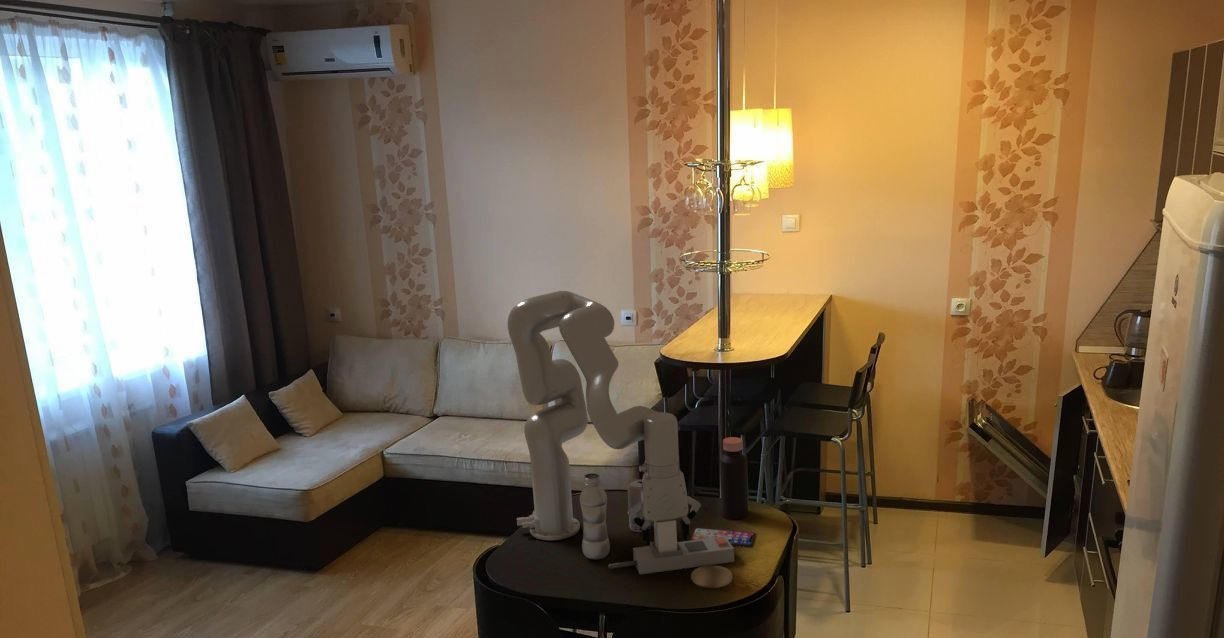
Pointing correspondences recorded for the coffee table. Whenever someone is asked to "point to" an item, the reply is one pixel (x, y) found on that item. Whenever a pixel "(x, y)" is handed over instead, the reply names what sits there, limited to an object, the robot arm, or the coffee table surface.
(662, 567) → the power strip
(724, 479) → the vinegar
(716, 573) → the coaster
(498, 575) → the coffee table surface
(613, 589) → the coffee table surface
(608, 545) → the plastic bottle
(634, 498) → the energy drink
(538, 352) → the robot arm
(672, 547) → the block
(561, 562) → the coffee table surface
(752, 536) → the smartphone
